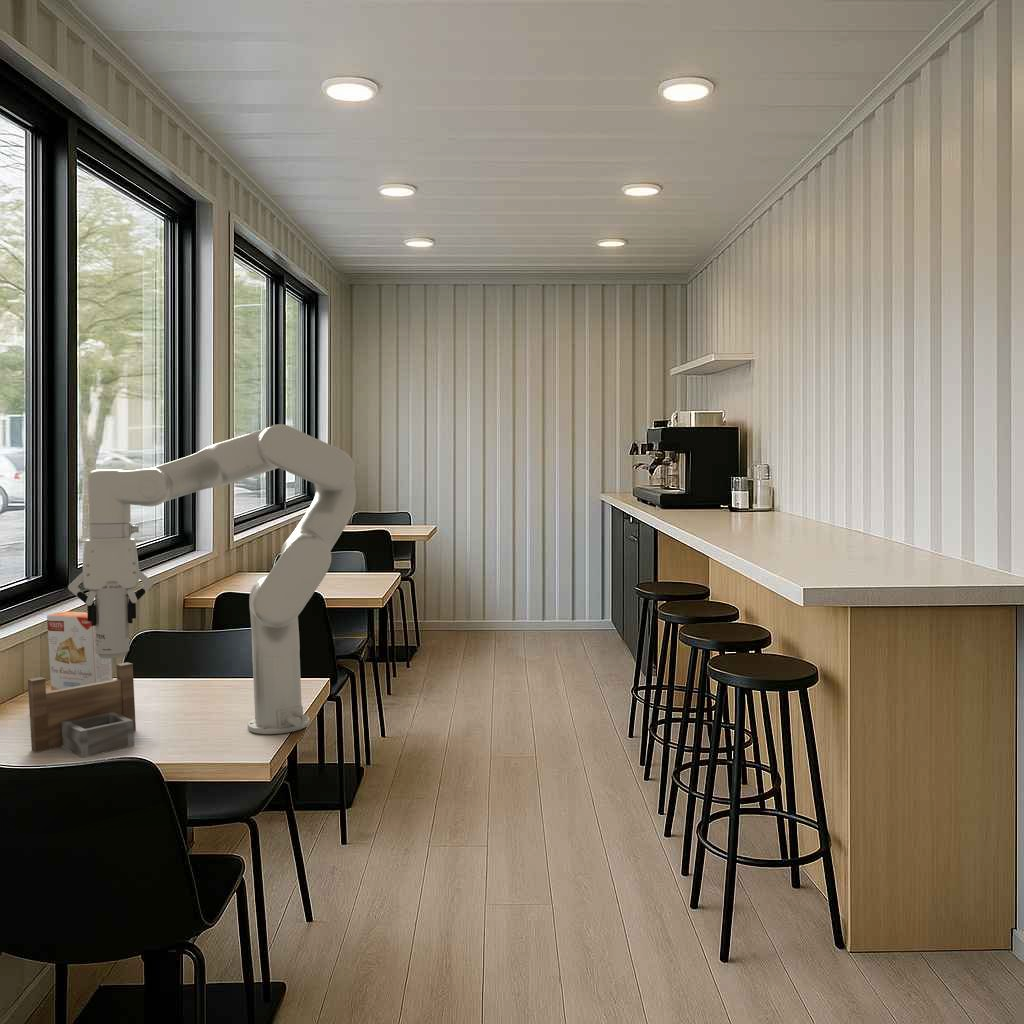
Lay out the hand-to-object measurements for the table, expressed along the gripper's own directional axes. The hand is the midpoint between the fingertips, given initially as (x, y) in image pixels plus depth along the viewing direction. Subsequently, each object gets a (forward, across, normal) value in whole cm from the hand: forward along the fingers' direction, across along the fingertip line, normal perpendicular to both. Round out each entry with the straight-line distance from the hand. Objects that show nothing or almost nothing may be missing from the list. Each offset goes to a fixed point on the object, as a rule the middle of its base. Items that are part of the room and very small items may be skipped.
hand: (112, 622), depth 187 cm
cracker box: (+25, +5, -42) cm, 49 cm away
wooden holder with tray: (+24, +3, -2) cm, 25 cm away
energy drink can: (+7, 0, 0) cm, 7 cm away
